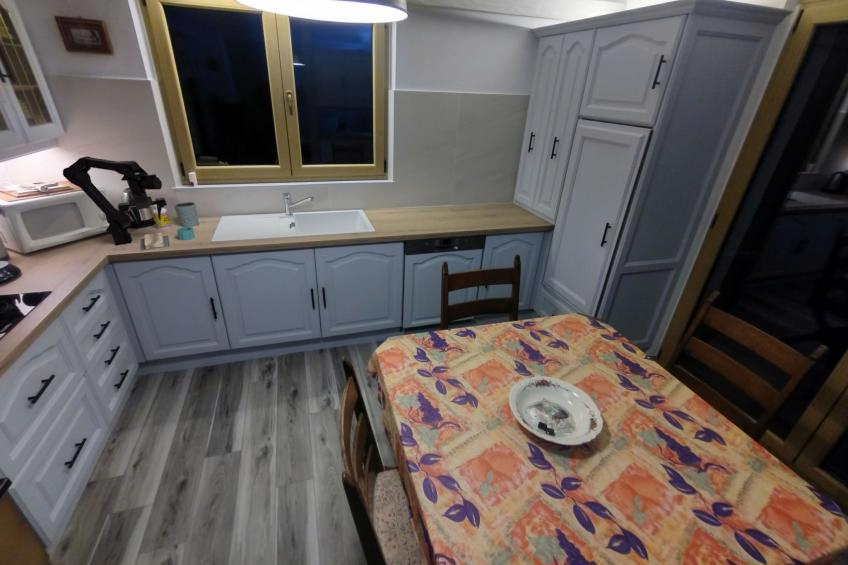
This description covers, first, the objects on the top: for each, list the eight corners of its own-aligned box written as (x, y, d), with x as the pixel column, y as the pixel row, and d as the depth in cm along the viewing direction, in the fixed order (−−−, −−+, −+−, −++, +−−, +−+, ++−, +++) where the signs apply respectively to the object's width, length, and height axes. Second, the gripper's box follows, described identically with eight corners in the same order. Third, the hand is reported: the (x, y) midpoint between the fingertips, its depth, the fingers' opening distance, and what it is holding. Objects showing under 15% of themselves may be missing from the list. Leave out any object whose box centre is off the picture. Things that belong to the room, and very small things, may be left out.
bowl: (180, 242, 193) (177, 232, 191) (179, 237, 198) (176, 228, 196) (195, 239, 197) (193, 230, 194) (194, 235, 202) (192, 226, 199)
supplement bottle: (167, 229, 208) (160, 206, 202) (154, 229, 208) (147, 206, 202) (174, 225, 214) (168, 203, 208) (162, 225, 214) (155, 202, 208)
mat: (140, 251, 181) (140, 250, 181) (140, 240, 194) (140, 239, 194) (170, 247, 187) (169, 246, 187) (168, 236, 200) (168, 235, 200)
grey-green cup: (194, 228, 211) (188, 207, 205) (175, 228, 211) (169, 206, 205) (203, 222, 220) (198, 202, 214) (186, 222, 220) (180, 201, 214)
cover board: (146, 248, 183) (144, 244, 182) (146, 239, 194) (144, 234, 193) (164, 246, 187) (162, 241, 186) (162, 237, 197) (161, 232, 196)
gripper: (112, 196, 168) (125, 230, 175) (162, 190, 177) (172, 222, 184) (113, 191, 176) (125, 223, 183) (160, 185, 185) (170, 216, 192)
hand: (148, 221), depth 186 cm, fingers open, 9 cm apart
